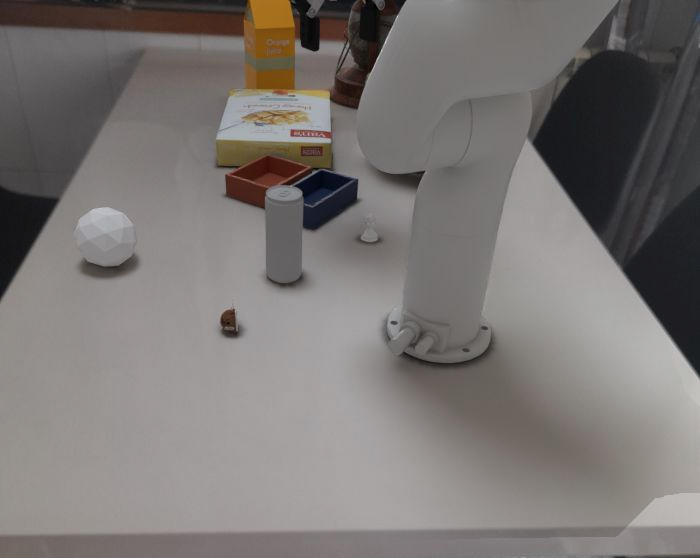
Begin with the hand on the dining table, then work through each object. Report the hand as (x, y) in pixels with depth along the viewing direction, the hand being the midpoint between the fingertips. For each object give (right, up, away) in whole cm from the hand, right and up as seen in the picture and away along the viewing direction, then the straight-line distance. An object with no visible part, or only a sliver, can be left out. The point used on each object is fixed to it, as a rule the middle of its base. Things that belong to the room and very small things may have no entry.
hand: (339, 44), depth 94 cm
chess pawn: (+4, -24, +13) cm, 27 cm away
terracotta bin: (-12, -14, +24) cm, 30 cm away
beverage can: (-8, -30, +3) cm, 31 cm away
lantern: (+6, +17, +68) cm, 70 cm away
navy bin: (-4, -17, +20) cm, 27 cm away
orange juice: (-16, +17, +65) cm, 69 cm away
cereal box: (-12, 0, +43) cm, 45 cm away
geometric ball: (-31, -28, +4) cm, 42 cm away
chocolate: (-13, -38, -7) cm, 40 cm away
